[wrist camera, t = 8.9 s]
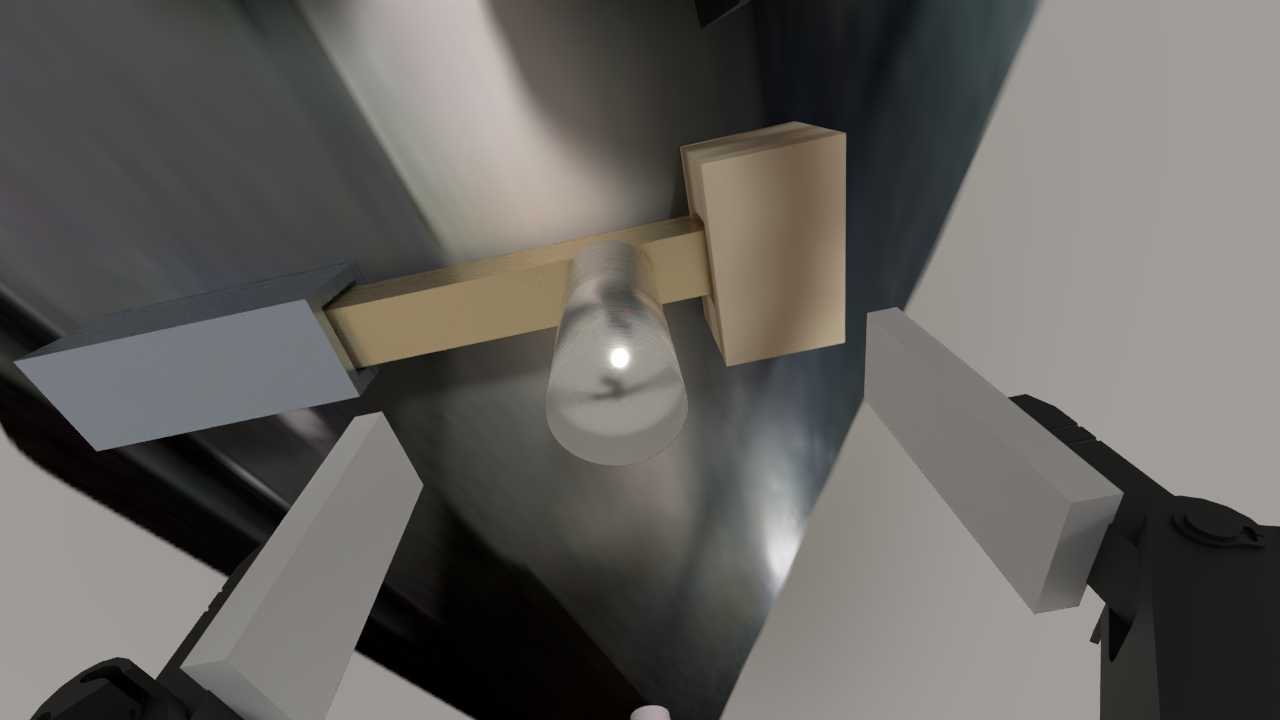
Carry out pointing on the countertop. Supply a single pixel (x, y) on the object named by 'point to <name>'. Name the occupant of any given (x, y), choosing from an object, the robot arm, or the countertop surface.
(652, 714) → the smoothie
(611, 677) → the countertop surface
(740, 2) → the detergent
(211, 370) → the sleeve
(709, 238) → the socket block
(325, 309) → the bar with upright post
